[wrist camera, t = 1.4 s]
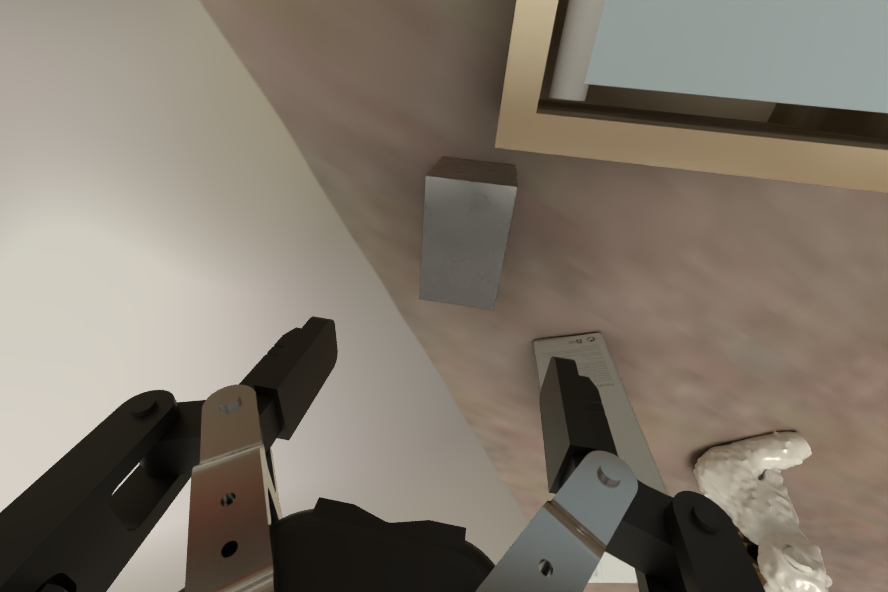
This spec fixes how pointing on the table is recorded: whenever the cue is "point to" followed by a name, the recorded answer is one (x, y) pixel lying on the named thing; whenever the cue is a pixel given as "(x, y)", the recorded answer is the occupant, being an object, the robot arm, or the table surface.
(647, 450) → the skincare box
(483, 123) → the table surface
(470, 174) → the metal brick
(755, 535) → the seated beast figurine
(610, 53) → the hatch door
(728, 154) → the hatch box
